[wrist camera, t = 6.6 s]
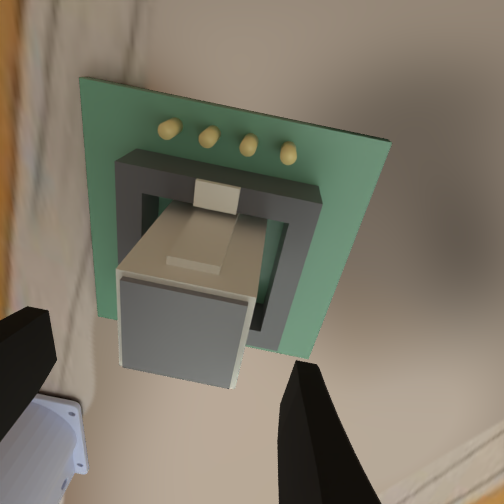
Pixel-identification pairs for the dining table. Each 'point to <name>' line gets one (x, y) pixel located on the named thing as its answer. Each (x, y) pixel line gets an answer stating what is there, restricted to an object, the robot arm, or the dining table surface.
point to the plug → (190, 294)
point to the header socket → (229, 194)
